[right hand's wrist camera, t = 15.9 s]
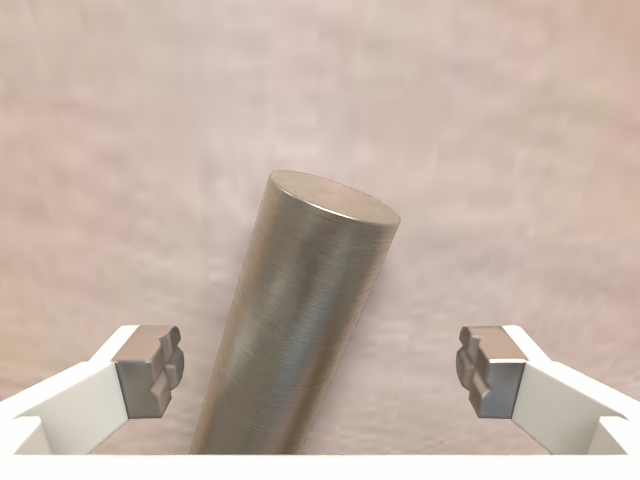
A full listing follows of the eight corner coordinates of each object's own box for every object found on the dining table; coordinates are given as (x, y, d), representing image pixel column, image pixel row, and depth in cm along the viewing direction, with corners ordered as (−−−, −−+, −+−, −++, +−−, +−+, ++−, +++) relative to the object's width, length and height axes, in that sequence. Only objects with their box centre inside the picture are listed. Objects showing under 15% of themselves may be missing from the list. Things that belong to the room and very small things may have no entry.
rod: (274, 161, 18) (263, 190, 13) (383, 197, 19) (419, 238, 14) (187, 461, 26) (156, 564, 20) (270, 475, 27) (262, 577, 21)
